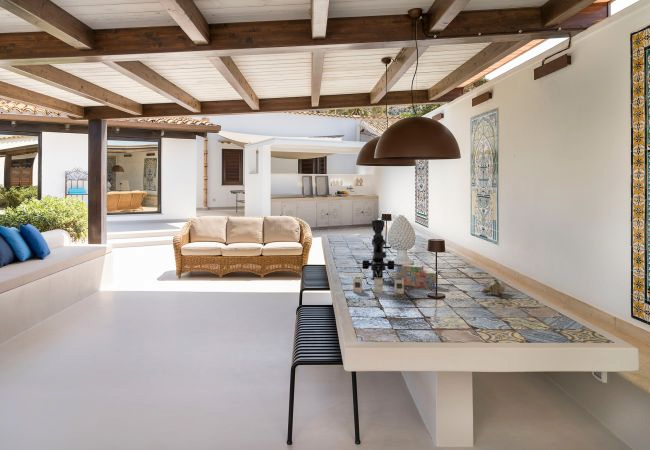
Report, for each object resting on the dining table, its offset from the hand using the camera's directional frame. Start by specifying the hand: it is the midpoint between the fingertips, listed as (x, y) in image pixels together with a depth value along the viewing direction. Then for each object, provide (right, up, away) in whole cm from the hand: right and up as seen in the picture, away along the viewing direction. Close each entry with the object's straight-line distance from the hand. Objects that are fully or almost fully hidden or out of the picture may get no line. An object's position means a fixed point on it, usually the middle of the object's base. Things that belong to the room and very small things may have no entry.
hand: (378, 276), depth 281 cm
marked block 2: (+12, -9, 0) cm, 15 cm away
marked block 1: (-12, -9, +2) cm, 15 cm away
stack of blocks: (+27, -8, +18) cm, 34 cm away
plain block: (0, -9, +1) cm, 9 cm away
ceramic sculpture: (+66, -10, -4) cm, 67 cm away
